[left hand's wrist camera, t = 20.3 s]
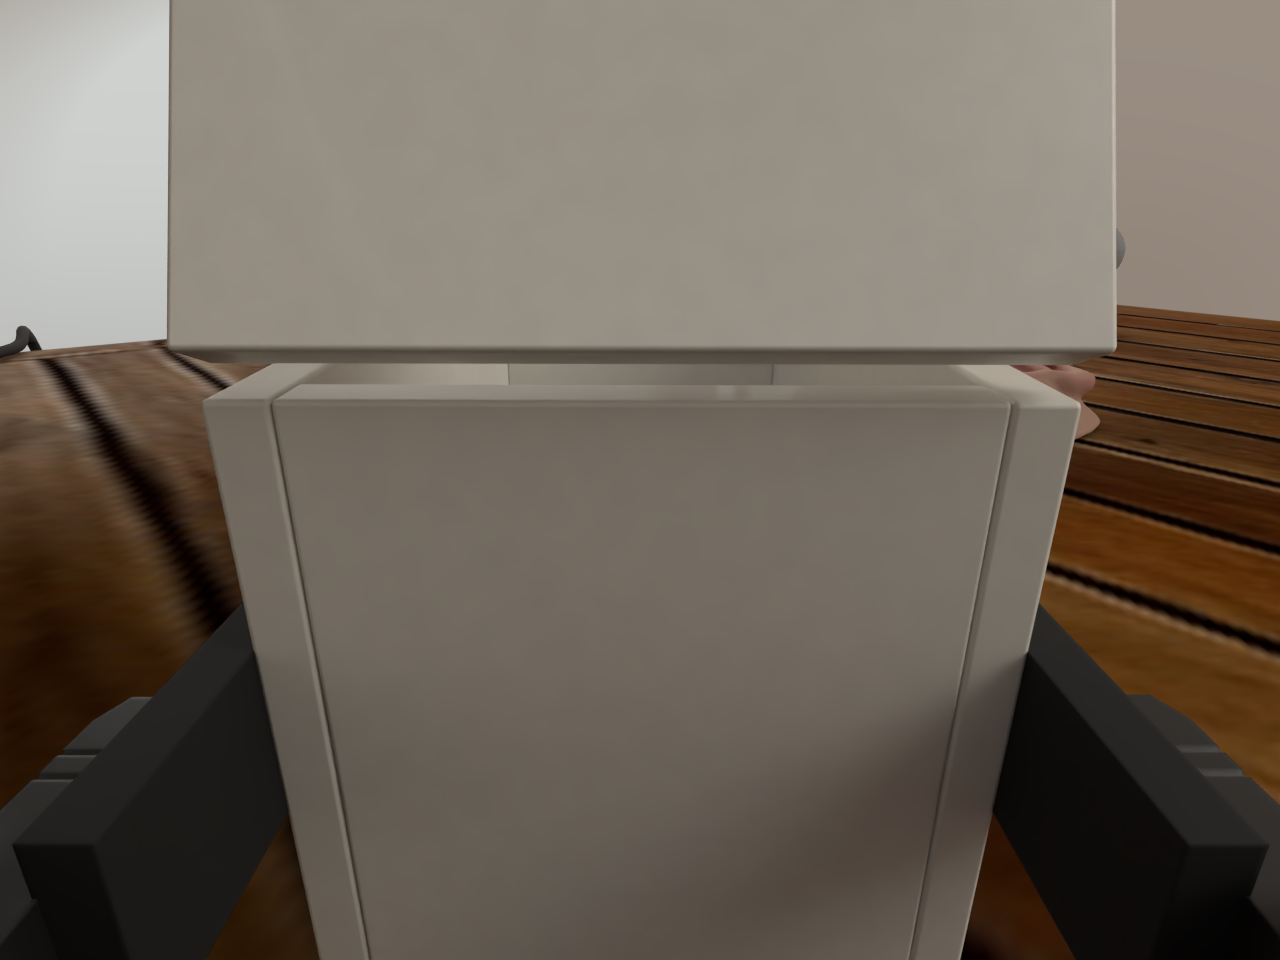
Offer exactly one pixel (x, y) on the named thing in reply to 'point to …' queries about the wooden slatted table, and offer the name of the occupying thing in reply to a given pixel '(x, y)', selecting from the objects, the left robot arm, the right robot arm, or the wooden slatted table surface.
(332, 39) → the lid
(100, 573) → the wooden slatted table surface
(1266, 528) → the wooden slatted table surface
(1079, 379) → the anatomical model
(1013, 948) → the wooden slatted table surface
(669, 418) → the chest
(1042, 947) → the wooden slatted table surface
